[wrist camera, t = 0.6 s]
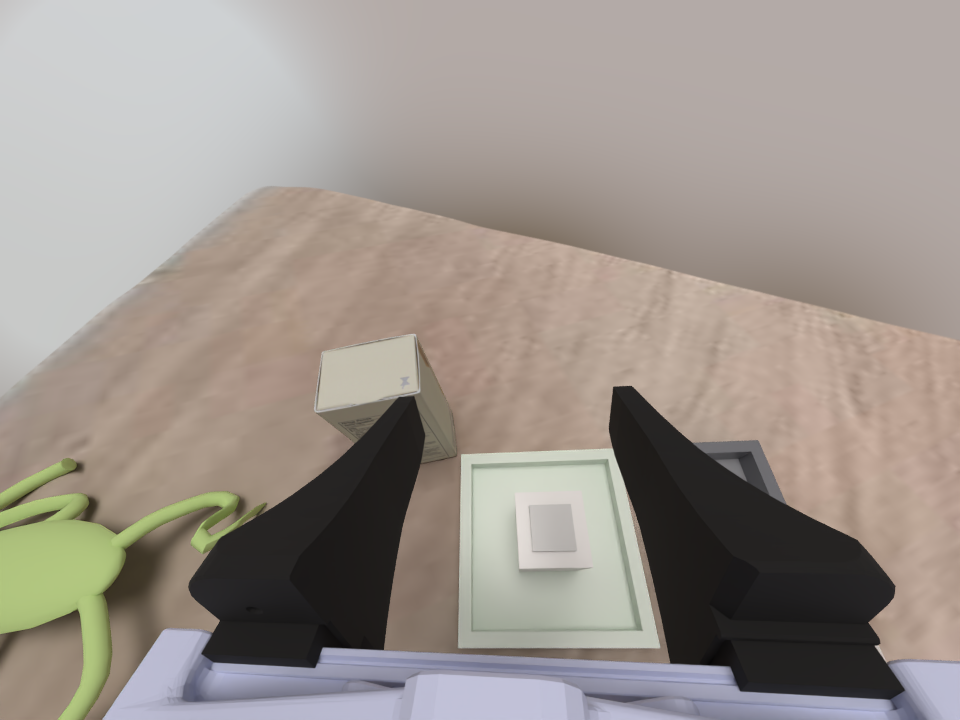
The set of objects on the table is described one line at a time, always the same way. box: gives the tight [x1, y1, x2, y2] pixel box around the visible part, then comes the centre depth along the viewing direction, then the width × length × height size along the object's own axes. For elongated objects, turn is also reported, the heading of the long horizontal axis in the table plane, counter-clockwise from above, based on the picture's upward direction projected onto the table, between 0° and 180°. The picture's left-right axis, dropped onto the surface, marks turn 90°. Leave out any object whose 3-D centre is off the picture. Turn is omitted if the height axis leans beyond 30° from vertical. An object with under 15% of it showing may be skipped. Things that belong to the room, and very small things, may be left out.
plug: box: [515, 491, 593, 572], centre depth 23 cm, size 4×4×6 cm
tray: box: [458, 448, 660, 648], centre depth 25 cm, size 12×12×2 cm
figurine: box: [0, 458, 266, 720], centre depth 25 cm, size 18×27×6 cm
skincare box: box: [314, 334, 457, 463], centre depth 26 cm, size 6×4×12 cm
